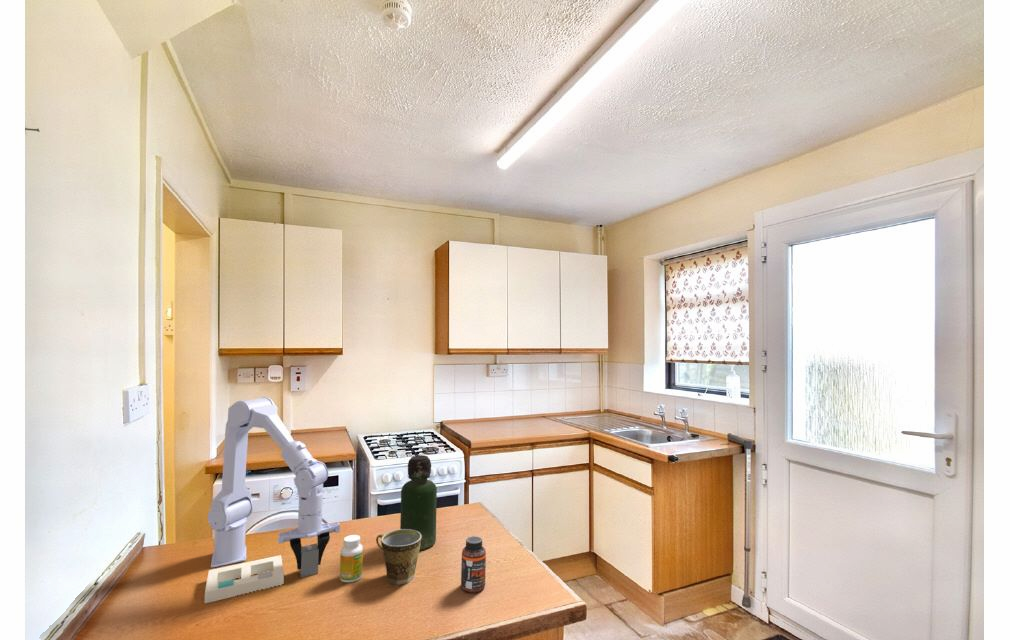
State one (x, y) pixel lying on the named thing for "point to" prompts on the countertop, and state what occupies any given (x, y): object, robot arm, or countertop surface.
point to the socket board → (243, 578)
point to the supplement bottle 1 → (351, 559)
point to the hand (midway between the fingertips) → (308, 565)
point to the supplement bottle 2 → (473, 565)
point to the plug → (309, 560)
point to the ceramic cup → (400, 554)
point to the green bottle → (419, 501)
